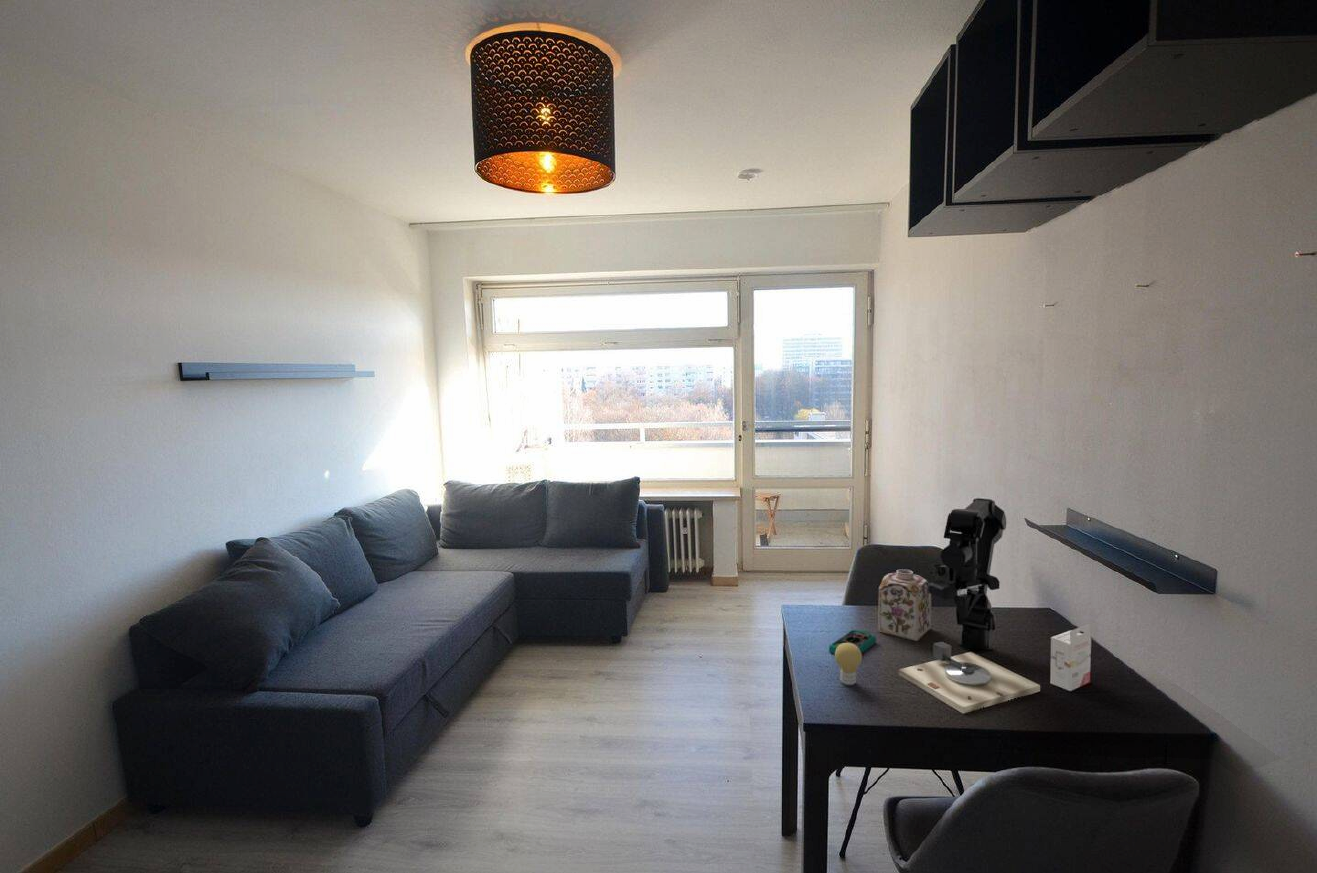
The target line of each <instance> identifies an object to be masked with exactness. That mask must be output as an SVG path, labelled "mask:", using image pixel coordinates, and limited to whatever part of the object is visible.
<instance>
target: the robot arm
mask: <svg viewBox="0 0 1317 873" xmlns="http://www.w3.org/2000/svg"><path fill="white" fill-rule="evenodd" d="M1005 513H1006V512H1005V511H1004V510H1003V509H1002V508H1000V507H999V506H998V505H996V503H995V500H993V499H990V498H989V499H988V498H980V497H977V498H973V501H972V502H971V503H970V504H969V505H968V506H967V507H965V508H955V509H952V510H951V511H950V513H948V515H947V519H946V523H945V524H946V525H945V529H944V534H943V539H948V540H949V544H948V545H947V546H946V547H944V548H943V549H942V550H941V552H940V559H941V562H942V563H943V564H944V565H941V564H940V563H933V564H930V565H929V575H930V576H931V577H935V579H936V580H937V581H936V580H935V581H931V582H930V583H929V585H928V593H930V594H931V595H932V596H933V595H934V596H935V597H938V598H940V599H942V600H950V599H953V601H954V603H955V606H956V608H955V613H956V614H955V615H956V624H957V625H959V626H962V631H961V641H959V642H957V645H958V646H960V647H962V648H964V649H966V650H969V652H972V653H974V654H979V653H984V652H988V651H992V650H994V646H992V645H990V644H989V642H990V641H989V640H990V636H989V635H990V632H992V631H996V626H997V625H996V617H995V614H994V612H993V609H992V604H991V601H990V599H989V597H988V595H987V592H988V589H989V590H990V591H994V590H995V591H996V590H999V589H1000V585H1001V584H1000V580H999V578H998V577H997V576H994V575H991V574H990V573H991V567H992V561H993V554H994V548H995V544H997V543H998V542H999V541H1000V540H1001V539H1002V537H1003V533H1004V531H1006V529H1007V516H1006V514H1005ZM939 579H945V581H944V580H939ZM946 581H947V582H946ZM949 582H952V583H949Z"/></svg>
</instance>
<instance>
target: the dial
mask: <svg viewBox="0 0 1317 873" xmlns="http://www.w3.org/2000/svg"><path fill="white" fill-rule="evenodd" d="M932 657H933V658H935V659H936V660H940V661H945V662H947V663H949V664H947V665H946V666H945V674H946V676H947V677H948V678H949V679H951V680H953V681H955V682H957V683H960V684H964V685H970V686H982V685H986V684H988V683H989V682H990V678H991V674H990V672H989V671H988V670H987V669H985V668H983V667H981V666H979V665H976V664H972V663H967V662H957V661H955V660H953V659H951V657H952V645H950V644H949V643H946V642H944V641H938V642H934V643H933V644H932Z"/></svg>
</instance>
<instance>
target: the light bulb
mask: <svg viewBox="0 0 1317 873" xmlns="http://www.w3.org/2000/svg"><path fill="white" fill-rule="evenodd" d="M834 658H835V659H834V660H835V661H836V663H837V665H838V666H839V667H840V674H839V675H840V682H841V683H843V684H844V685H846V686H853V685H855V684H856V683H857V669H858V668H859V667H860V665H861V663H862V660H863V656H862V653H861V651H860V650H859V648H858V647H857V646H856V645H854V644H852V643H842V644H840V645H839V646H838V647H837V648H836V651H835V654H834Z"/></svg>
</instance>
